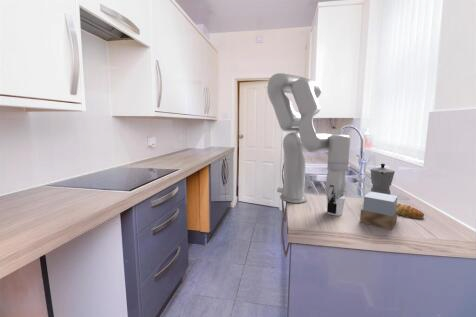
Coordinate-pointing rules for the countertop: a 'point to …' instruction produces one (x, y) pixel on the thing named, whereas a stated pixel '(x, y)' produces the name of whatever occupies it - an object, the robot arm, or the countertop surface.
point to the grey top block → (380, 203)
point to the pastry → (409, 211)
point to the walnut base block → (378, 219)
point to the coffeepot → (381, 179)
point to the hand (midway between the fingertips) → (334, 210)
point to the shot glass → (338, 205)
